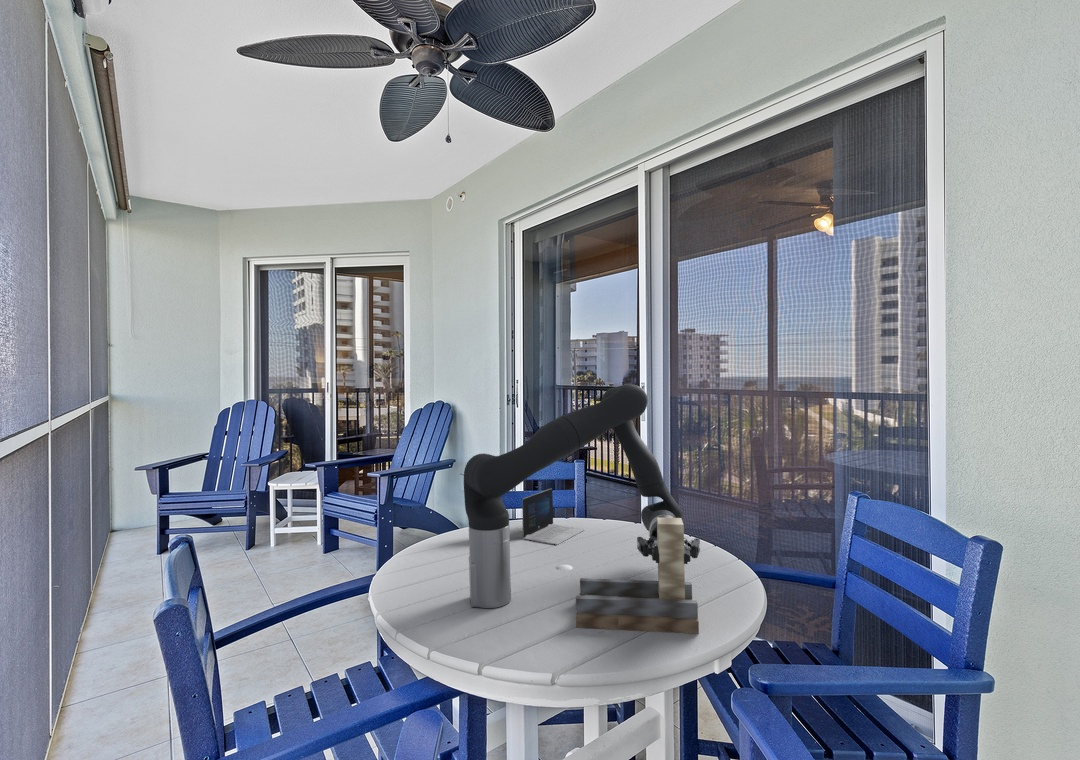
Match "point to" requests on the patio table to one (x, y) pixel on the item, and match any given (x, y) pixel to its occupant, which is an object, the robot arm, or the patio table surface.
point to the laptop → (543, 520)
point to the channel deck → (634, 607)
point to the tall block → (671, 558)
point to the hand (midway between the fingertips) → (671, 558)
